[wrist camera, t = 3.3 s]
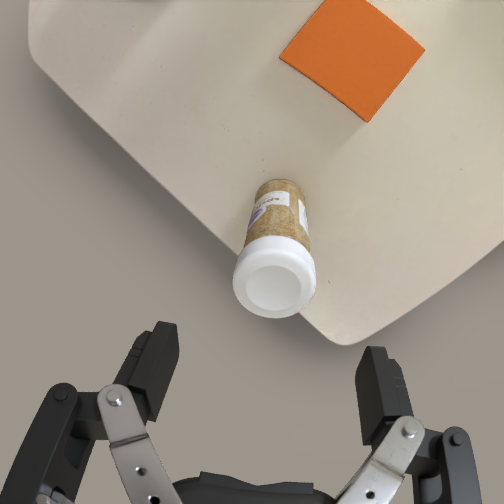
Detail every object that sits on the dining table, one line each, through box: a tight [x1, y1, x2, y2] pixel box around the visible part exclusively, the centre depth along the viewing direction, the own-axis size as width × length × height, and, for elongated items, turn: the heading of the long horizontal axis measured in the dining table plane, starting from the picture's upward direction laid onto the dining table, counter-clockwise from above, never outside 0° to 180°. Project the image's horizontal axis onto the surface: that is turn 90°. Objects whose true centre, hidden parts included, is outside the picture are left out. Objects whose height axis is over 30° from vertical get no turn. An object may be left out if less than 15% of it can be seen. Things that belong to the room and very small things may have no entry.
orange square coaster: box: [279, 0, 425, 122], centre depth 21 cm, size 9×9×1 cm
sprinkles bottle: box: [232, 179, 316, 318], centre depth 23 cm, size 5×5×14 cm
